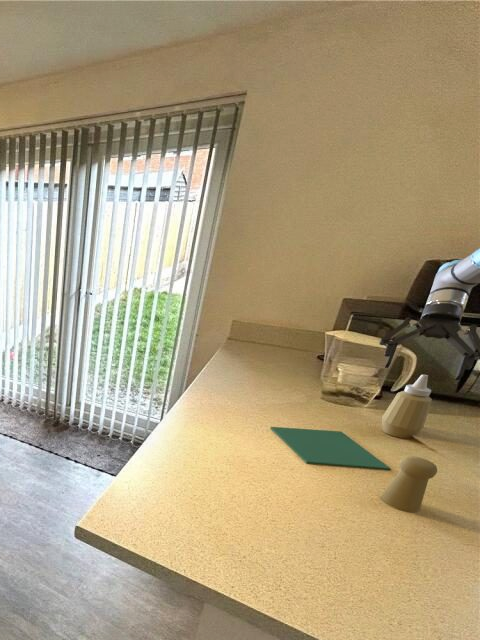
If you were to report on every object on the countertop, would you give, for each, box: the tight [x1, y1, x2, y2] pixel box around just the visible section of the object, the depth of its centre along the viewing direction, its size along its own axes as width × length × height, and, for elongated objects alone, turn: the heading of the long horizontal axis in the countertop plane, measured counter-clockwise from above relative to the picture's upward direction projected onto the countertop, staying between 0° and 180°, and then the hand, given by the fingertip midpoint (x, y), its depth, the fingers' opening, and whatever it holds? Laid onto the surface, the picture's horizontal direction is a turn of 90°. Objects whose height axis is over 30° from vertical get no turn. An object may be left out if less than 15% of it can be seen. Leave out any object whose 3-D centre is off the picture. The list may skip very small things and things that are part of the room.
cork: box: [379, 455, 438, 513], centre depth 83 cm, size 6×6×11 cm
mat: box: [270, 426, 391, 471], centre depth 105 cm, size 18×18×1 cm
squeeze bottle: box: [381, 374, 433, 439], centre depth 107 cm, size 8×8×18 cm
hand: (421, 371), depth 110 cm, fingers open, 13 cm apart
